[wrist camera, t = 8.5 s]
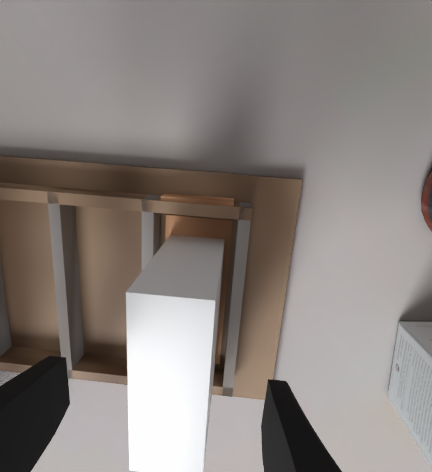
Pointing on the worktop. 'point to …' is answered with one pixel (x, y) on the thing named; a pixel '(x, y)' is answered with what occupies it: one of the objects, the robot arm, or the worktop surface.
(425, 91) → the worktop surface
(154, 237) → the slot rack
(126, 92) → the worktop surface
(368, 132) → the worktop surface
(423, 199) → the supplement bottle
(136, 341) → the blanking panel
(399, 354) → the small box
